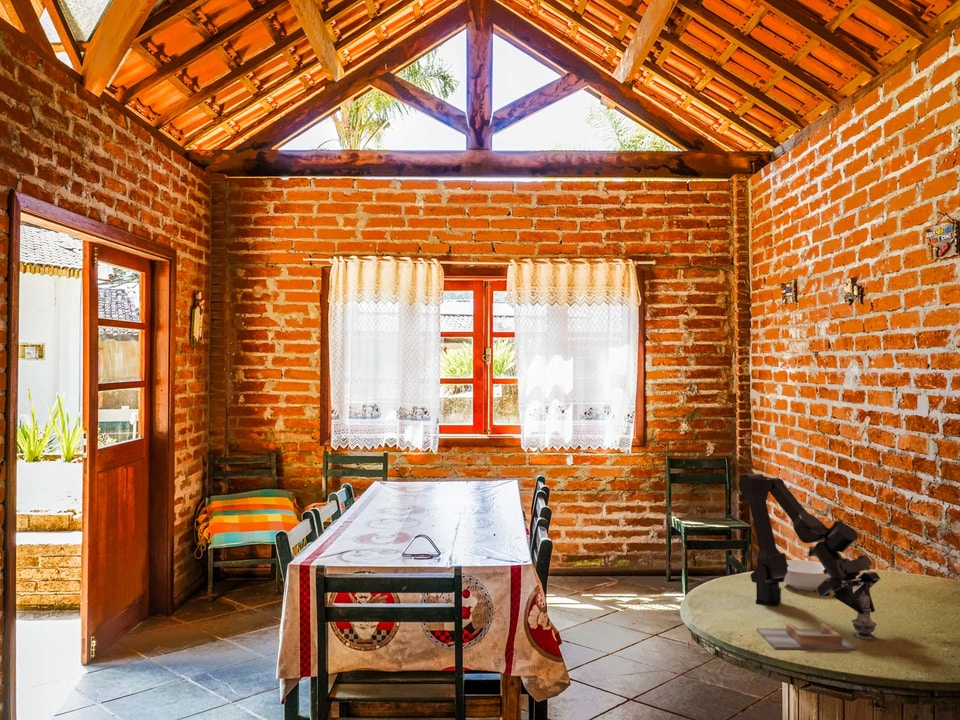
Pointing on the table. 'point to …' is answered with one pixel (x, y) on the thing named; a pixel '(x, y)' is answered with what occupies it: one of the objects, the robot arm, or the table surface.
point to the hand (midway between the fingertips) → (868, 612)
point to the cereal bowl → (805, 574)
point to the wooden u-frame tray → (805, 638)
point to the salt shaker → (864, 619)
